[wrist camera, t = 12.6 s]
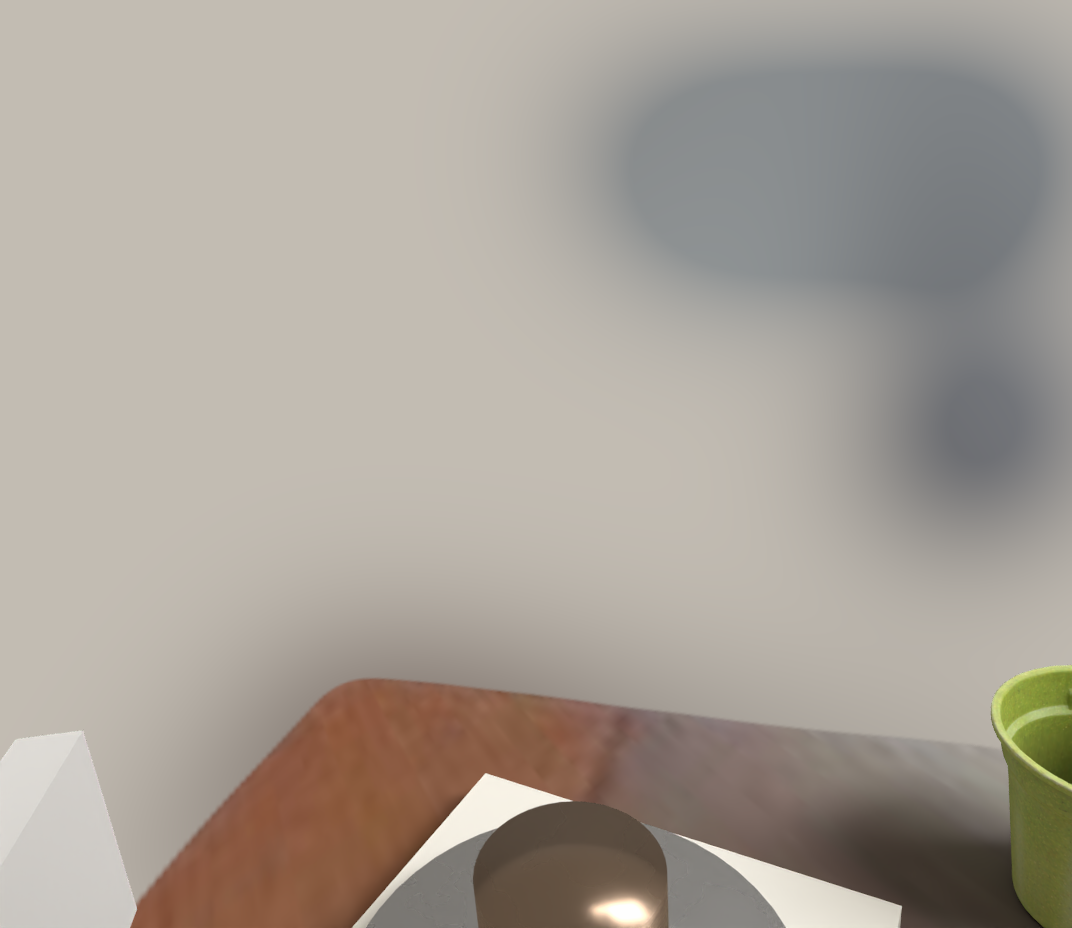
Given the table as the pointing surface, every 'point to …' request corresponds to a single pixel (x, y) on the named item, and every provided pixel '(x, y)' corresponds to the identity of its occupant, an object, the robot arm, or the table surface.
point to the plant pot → (1039, 788)
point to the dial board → (800, 901)
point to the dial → (576, 879)
